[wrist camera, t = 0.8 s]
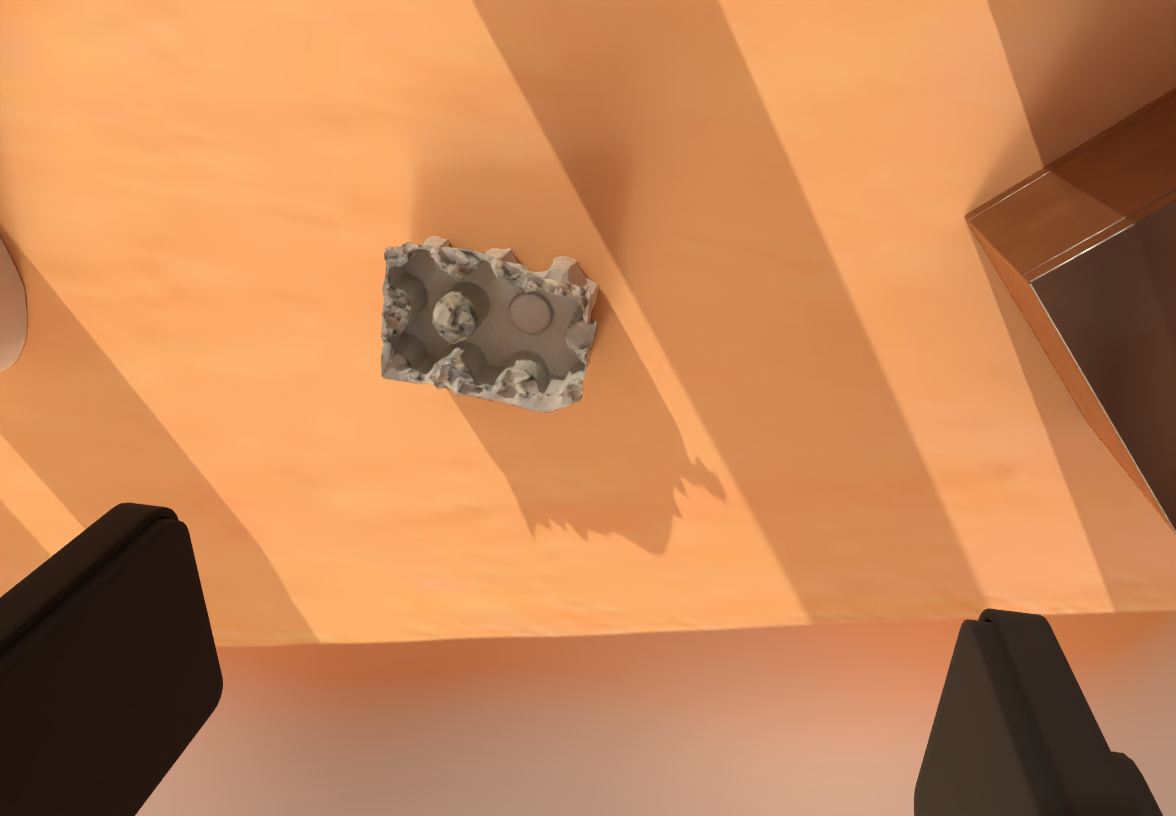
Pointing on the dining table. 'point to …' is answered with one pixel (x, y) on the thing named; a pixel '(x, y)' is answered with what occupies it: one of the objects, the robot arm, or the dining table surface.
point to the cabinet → (1103, 284)
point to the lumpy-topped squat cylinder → (11, 311)
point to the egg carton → (487, 324)
